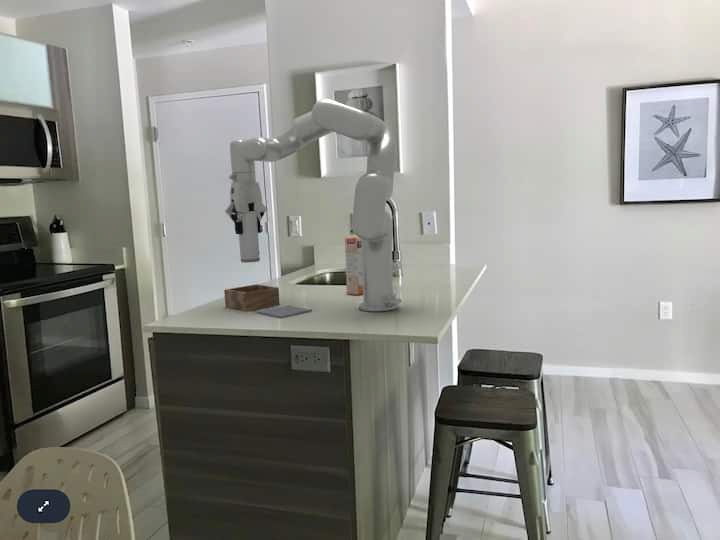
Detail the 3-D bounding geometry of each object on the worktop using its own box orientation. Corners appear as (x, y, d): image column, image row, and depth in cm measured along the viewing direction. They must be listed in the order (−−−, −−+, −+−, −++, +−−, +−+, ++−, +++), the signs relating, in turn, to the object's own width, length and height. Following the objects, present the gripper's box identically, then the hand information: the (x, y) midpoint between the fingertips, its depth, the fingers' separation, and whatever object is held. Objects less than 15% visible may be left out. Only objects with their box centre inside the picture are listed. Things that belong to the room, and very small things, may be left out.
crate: (279, 305, 195) (278, 287, 194) (247, 311, 186) (245, 293, 186) (257, 301, 205) (256, 284, 204) (225, 307, 196) (224, 289, 195)
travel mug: (264, 260, 194) (260, 200, 191) (248, 262, 189) (243, 201, 186) (253, 260, 198) (248, 201, 195) (237, 262, 193) (232, 202, 191)
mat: (311, 311, 182) (311, 309, 182) (280, 318, 174) (280, 316, 174) (288, 307, 191) (288, 305, 191) (258, 313, 183) (258, 311, 183)
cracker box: (359, 295, 206) (357, 237, 203) (346, 294, 210) (343, 237, 207) (380, 289, 218) (378, 234, 215) (367, 288, 221) (364, 234, 218)
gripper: (227, 178, 181) (231, 235, 183) (272, 177, 193) (276, 231, 195) (214, 179, 186) (219, 235, 189) (259, 178, 198) (263, 230, 201)
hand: (248, 232), depth 192 cm, fingers closed on travel mug, 6 cm apart
